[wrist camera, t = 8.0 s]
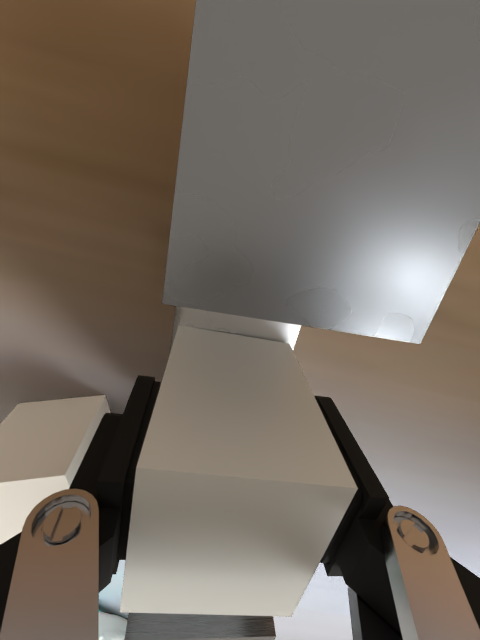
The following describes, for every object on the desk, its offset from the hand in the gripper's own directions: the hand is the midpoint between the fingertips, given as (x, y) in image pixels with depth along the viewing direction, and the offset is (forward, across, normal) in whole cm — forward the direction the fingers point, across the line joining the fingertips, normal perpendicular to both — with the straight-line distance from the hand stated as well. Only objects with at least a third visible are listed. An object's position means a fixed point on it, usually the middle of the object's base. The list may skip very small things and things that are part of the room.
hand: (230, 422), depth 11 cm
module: (+2, 0, 0) cm, 2 cm away
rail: (+4, 0, 0) cm, 4 cm away
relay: (+4, +6, +6) cm, 10 cm away
